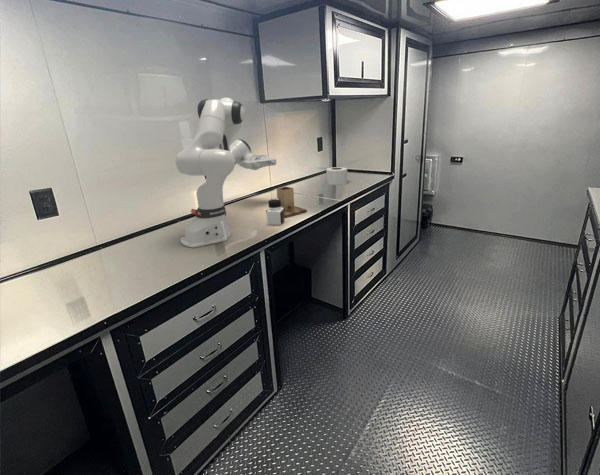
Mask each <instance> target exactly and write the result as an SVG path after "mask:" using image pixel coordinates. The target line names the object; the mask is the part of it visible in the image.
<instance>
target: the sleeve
mask: <svg viewBox="0 0 600 475" xmlns="http://www.w3.org/2000/svg"><path fill="white" fill-rule="evenodd" d="M294 194H295V193H294V187H290V186H282V187H278V188H276V199H279V200H281V208H284V212H288V211H291V210H294V206H295V197H294Z"/></svg>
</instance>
